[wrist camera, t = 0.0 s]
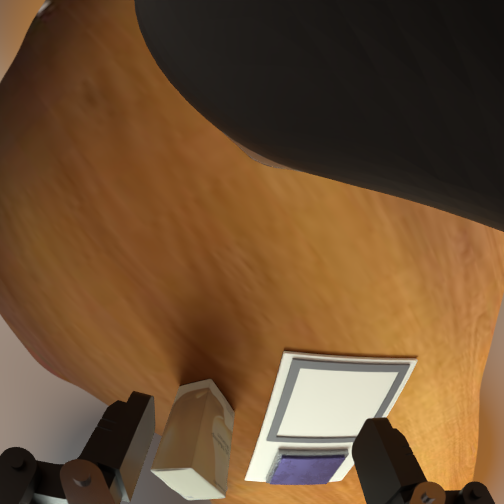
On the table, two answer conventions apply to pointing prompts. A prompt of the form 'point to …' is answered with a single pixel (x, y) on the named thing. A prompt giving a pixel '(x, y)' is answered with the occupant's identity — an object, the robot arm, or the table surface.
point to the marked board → (325, 404)
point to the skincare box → (196, 443)
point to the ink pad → (305, 466)
